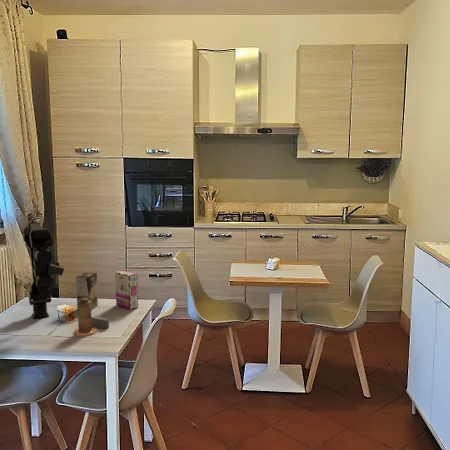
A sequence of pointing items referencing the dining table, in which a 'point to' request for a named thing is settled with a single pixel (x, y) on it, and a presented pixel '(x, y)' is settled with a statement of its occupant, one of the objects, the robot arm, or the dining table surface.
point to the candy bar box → (126, 289)
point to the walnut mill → (84, 315)
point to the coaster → (85, 333)
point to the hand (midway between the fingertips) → (43, 296)
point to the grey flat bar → (100, 322)
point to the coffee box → (87, 288)
